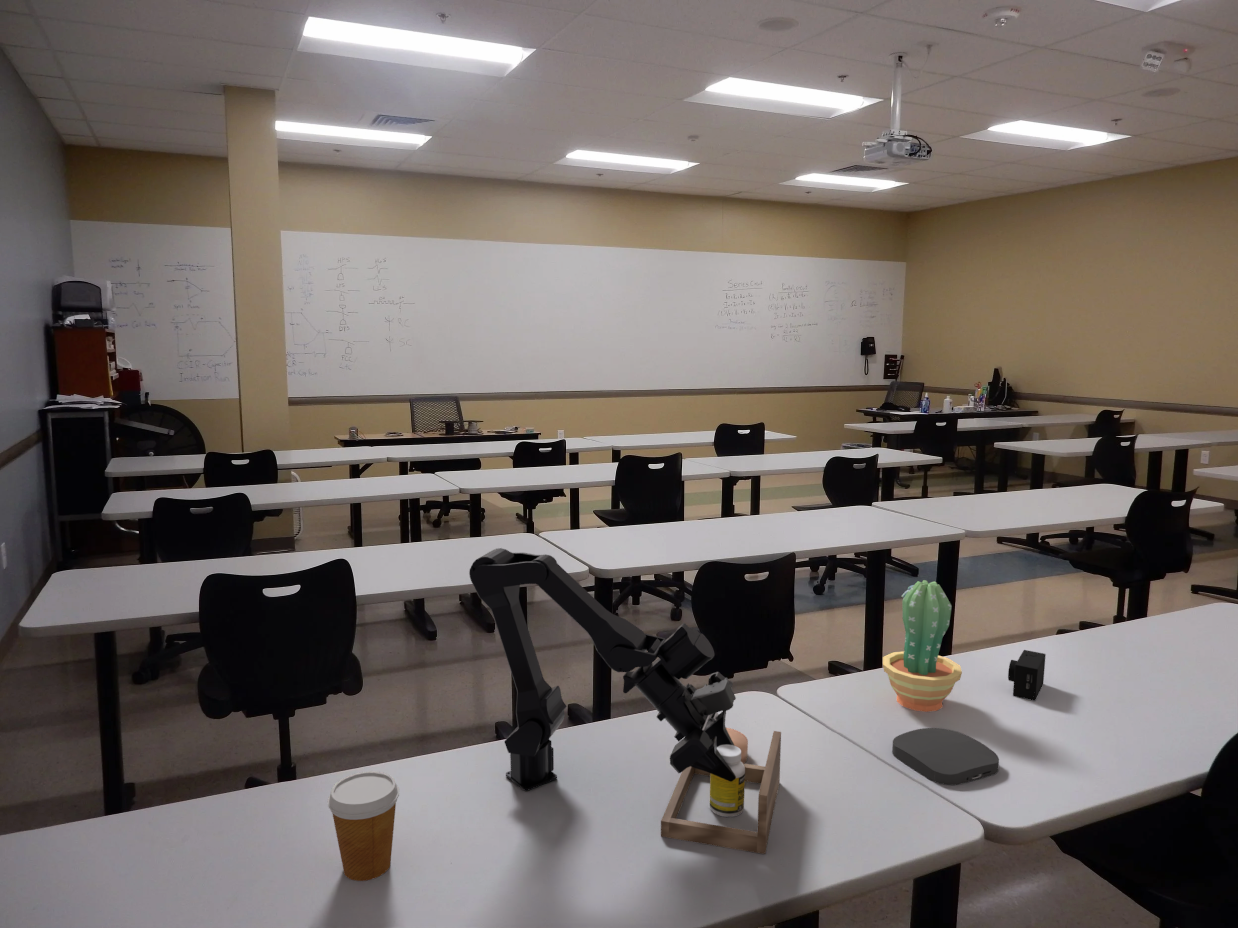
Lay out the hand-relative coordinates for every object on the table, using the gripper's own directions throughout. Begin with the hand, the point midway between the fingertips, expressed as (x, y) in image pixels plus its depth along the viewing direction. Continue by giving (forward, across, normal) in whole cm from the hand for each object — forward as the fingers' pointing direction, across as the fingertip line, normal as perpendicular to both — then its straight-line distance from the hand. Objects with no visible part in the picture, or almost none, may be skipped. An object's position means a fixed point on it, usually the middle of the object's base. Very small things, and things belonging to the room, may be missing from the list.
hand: (736, 770), depth 131 cm
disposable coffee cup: (-29, -29, +38) cm, 56 cm away
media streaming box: (+28, +26, -18) cm, 42 cm away
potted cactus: (+26, +50, -16) cm, 59 cm away
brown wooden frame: (+4, 0, +6) cm, 7 cm away
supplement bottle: (+4, 0, +6) cm, 7 cm away
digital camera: (+42, +63, -32) cm, 82 cm away
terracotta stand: (+1, +16, +8) cm, 19 cm away
